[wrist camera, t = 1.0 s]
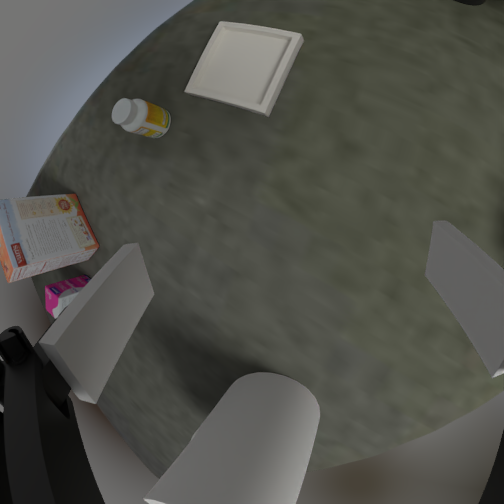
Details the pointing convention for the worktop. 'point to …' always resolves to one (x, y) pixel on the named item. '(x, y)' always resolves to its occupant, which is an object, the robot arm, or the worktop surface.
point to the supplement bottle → (141, 117)
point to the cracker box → (43, 235)
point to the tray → (245, 66)
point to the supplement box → (63, 293)
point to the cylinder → (246, 447)
